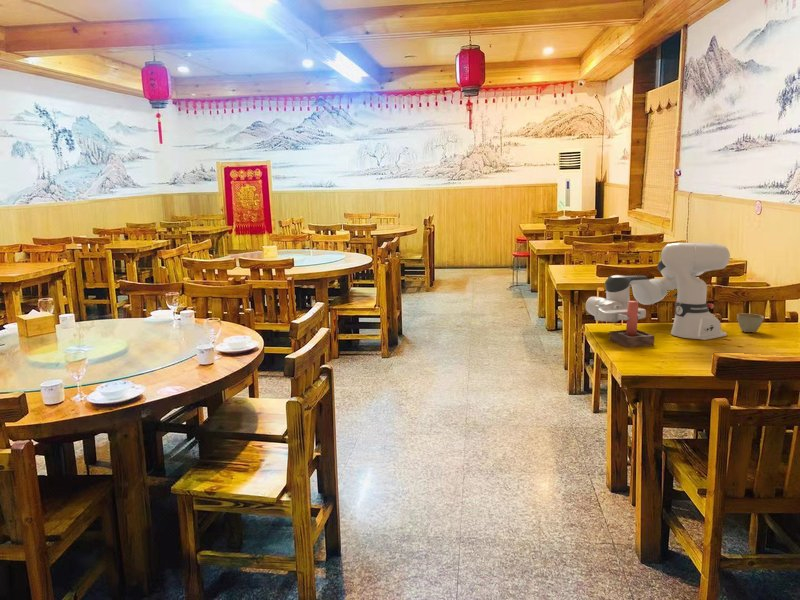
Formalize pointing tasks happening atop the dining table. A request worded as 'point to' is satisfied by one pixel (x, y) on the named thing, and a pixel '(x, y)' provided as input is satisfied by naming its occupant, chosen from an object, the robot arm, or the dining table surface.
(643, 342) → the box
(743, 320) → the flower pot
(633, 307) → the peg
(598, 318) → the robot arm
